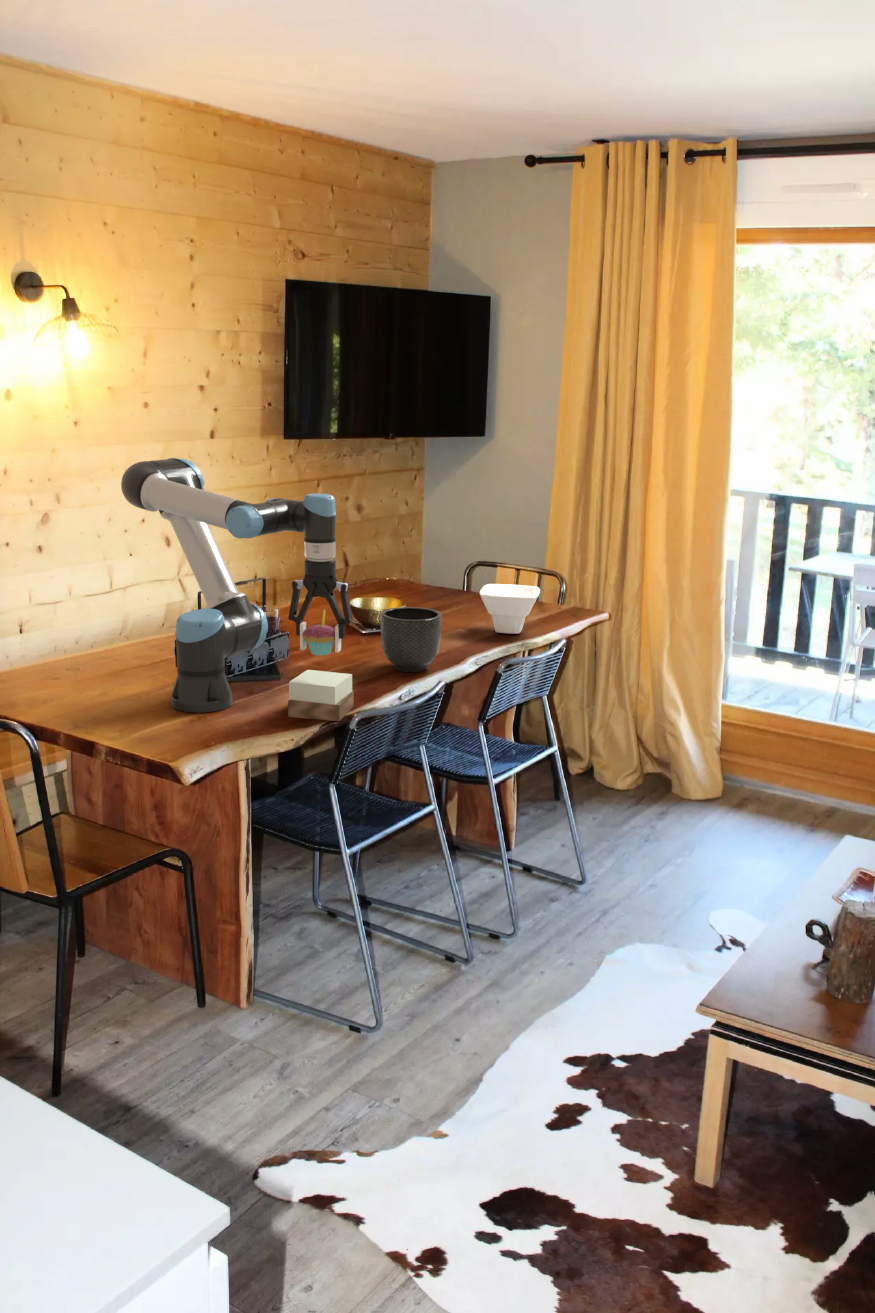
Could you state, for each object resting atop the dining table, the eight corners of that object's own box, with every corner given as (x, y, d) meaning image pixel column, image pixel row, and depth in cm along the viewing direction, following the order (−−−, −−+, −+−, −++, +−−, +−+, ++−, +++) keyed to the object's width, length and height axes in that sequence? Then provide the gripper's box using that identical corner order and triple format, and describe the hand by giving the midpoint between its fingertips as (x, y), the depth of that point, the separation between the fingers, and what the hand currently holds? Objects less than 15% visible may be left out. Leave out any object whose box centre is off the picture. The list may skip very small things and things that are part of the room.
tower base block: (288, 718, 284) (288, 700, 283) (304, 703, 296) (304, 686, 295) (339, 722, 282) (339, 705, 280) (353, 707, 294) (353, 690, 293)
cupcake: (344, 653, 285) (344, 605, 282) (318, 659, 279) (318, 610, 276) (321, 647, 291) (321, 600, 288) (295, 652, 285) (294, 605, 282)
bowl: (475, 637, 366) (477, 594, 363) (483, 624, 385) (485, 582, 381) (534, 641, 363) (536, 598, 360) (539, 627, 382) (541, 586, 378)
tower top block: (289, 699, 284) (288, 681, 283) (307, 686, 295) (307, 669, 294) (335, 704, 281) (335, 686, 279) (352, 691, 292) (352, 674, 291)
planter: (406, 680, 318) (407, 623, 314) (367, 666, 330) (368, 611, 326) (453, 670, 329) (454, 615, 325) (414, 657, 341) (415, 604, 337)
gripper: (273, 558, 278) (274, 650, 283) (358, 563, 274) (358, 656, 279) (283, 553, 285) (284, 643, 290) (366, 558, 281) (365, 649, 287)
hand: (320, 649), depth 285 cm, fingers closed on cupcake, 8 cm apart
